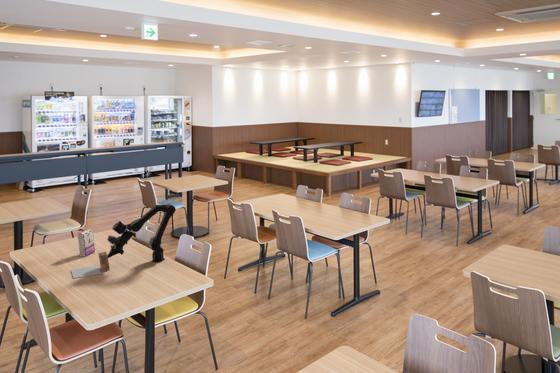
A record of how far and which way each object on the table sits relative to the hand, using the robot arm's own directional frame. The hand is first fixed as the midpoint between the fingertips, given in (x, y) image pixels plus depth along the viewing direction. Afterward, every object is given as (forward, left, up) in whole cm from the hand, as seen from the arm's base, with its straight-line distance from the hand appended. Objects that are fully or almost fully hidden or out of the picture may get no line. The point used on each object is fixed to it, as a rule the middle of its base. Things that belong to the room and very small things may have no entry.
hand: (107, 257), depth 307 cm
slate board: (+9, +9, -7) cm, 15 cm away
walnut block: (+1, +1, -7) cm, 8 cm away
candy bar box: (+32, -21, -8) cm, 39 cm away
